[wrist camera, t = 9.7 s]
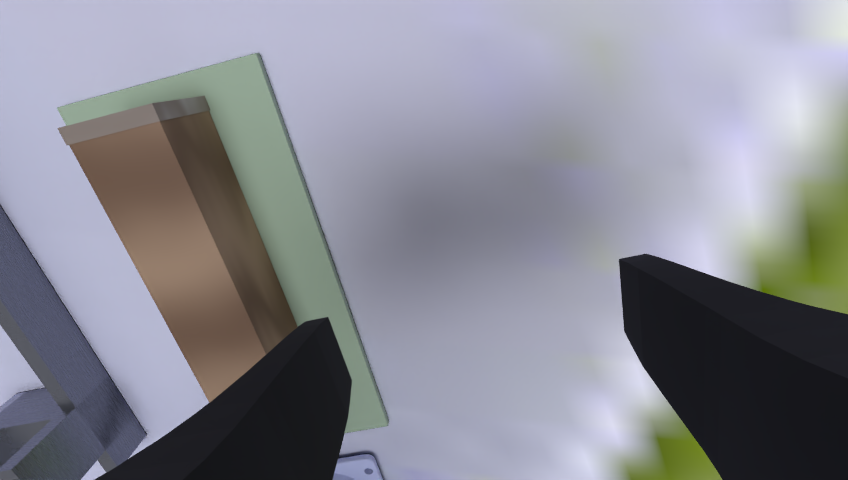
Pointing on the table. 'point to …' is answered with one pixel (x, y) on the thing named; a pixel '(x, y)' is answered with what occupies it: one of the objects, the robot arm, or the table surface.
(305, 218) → the mat
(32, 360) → the standards
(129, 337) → the table surface
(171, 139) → the rail
